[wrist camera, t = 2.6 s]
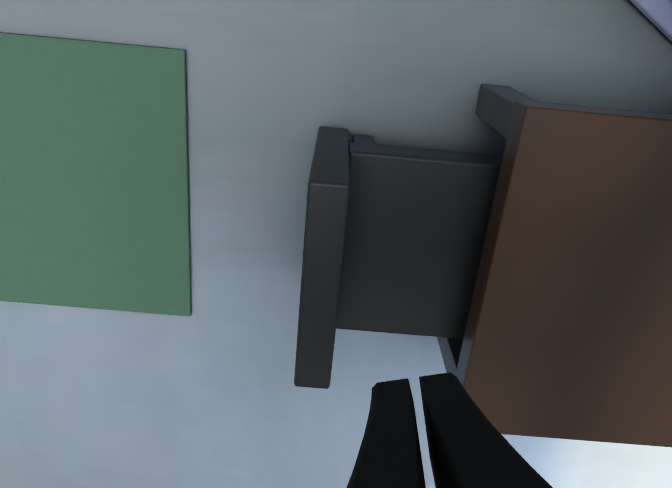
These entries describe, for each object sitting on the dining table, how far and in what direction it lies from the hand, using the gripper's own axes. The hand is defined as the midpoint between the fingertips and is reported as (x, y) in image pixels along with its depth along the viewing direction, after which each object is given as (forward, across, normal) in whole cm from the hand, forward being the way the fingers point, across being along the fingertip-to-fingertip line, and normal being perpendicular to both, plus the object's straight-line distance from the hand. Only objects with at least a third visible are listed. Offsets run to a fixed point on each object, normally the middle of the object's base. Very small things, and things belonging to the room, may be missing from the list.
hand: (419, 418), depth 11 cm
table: (+10, -6, +1) cm, 12 cm away
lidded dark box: (+10, -2, 0) cm, 10 cm away
